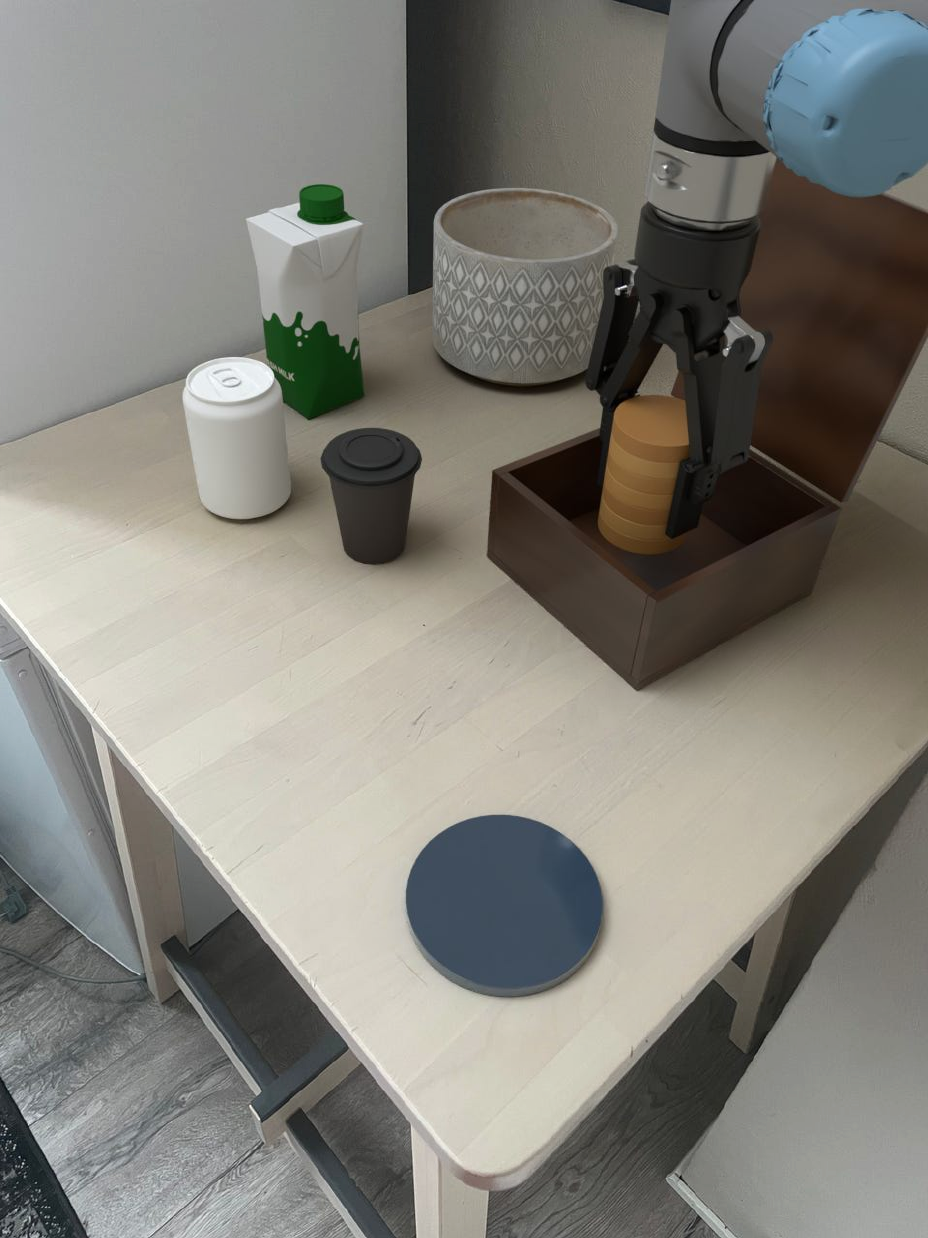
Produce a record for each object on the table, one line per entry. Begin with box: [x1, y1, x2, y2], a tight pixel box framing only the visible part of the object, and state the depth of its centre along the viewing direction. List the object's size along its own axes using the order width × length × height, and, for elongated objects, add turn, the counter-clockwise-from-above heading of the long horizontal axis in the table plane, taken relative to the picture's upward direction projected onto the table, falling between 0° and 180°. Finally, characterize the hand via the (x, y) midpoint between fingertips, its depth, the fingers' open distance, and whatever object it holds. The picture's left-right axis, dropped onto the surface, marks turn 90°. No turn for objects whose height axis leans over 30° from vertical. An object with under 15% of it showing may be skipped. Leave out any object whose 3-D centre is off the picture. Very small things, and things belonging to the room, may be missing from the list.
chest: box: [486, 427, 843, 691], centre depth 83 cm, size 20×19×9 cm
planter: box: [431, 187, 619, 387], centre depth 109 cm, size 19×19×14 cm
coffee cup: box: [320, 427, 423, 565], centre depth 85 cm, size 8×8×10 cm
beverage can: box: [182, 356, 292, 520], centre depth 88 cm, size 8×8×12 cm
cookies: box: [598, 394, 690, 555], centre depth 78 cm, size 7×7×10 cm
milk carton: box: [245, 183, 365, 420], centre depth 99 cm, size 9×9×20 cm
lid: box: [670, 158, 928, 504], centre depth 80 cm, size 21×19×5 cm
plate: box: [405, 814, 604, 998], centre depth 63 cm, size 12×12×1 cm
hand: (646, 504), depth 80 cm, fingers closed on cookies, 7 cm apart
